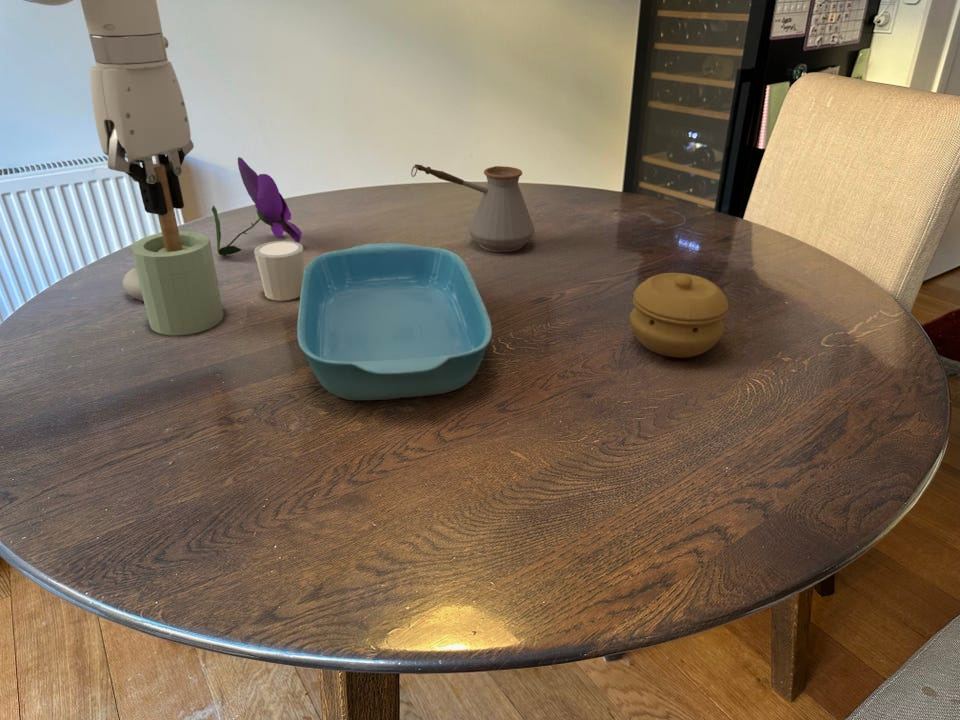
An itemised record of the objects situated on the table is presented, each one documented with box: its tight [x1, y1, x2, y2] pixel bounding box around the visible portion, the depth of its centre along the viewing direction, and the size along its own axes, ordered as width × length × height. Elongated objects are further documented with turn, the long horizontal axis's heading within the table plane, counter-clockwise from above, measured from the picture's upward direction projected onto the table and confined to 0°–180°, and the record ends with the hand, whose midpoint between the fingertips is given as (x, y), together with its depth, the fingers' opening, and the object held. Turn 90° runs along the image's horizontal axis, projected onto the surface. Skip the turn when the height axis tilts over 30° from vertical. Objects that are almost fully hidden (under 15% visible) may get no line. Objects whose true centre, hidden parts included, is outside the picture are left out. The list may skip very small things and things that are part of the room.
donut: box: [121, 266, 144, 302], centre depth 103 cm, size 10×4×10 cm
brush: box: [153, 163, 190, 252], centre depth 89 cm, size 4×4×16 cm
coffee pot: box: [410, 164, 535, 253], centre depth 118 cm, size 21×12×15 cm, turn 109°
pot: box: [629, 272, 729, 359], centre depth 89 cm, size 12×12×10 cm
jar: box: [130, 230, 224, 336], centre depth 93 cm, size 9×9×11 cm
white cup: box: [253, 240, 305, 302], centre depth 102 cm, size 7×7×7 cm
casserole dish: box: [296, 242, 493, 402], centre depth 89 cm, size 37×22×7 cm, turn 10°
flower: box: [211, 156, 303, 258], centre depth 116 cm, size 15×15×14 cm
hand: (164, 209), depth 88 cm, fingers closed on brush, 2 cm apart
